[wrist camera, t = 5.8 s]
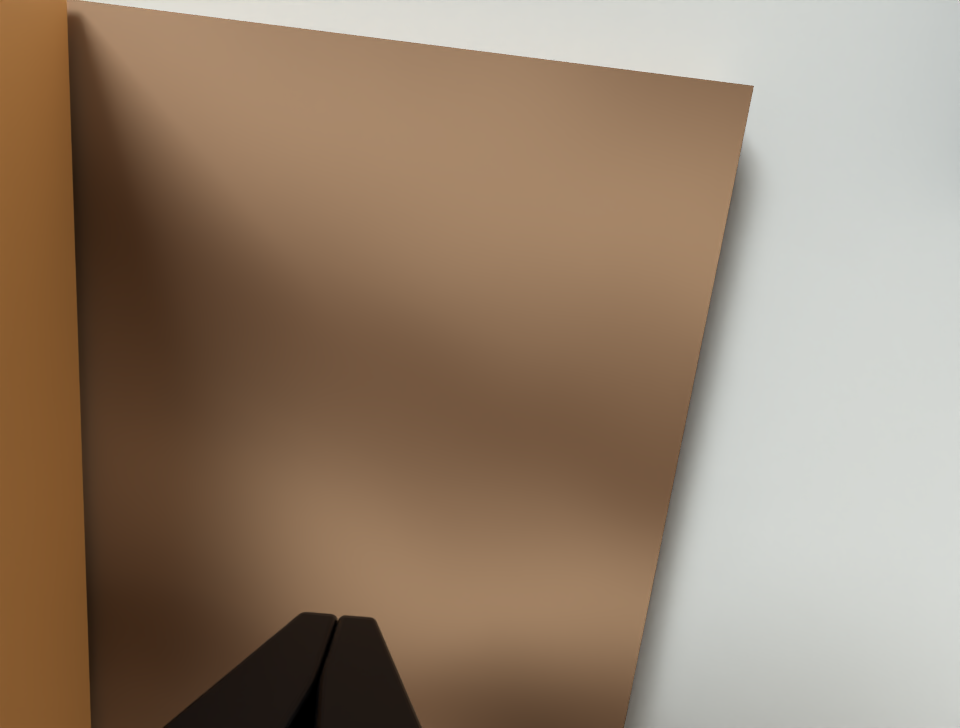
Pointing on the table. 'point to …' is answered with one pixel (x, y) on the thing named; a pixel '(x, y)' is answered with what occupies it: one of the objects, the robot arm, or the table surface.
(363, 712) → the robot arm
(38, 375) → the orange and grey block
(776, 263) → the table surface
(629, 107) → the board
